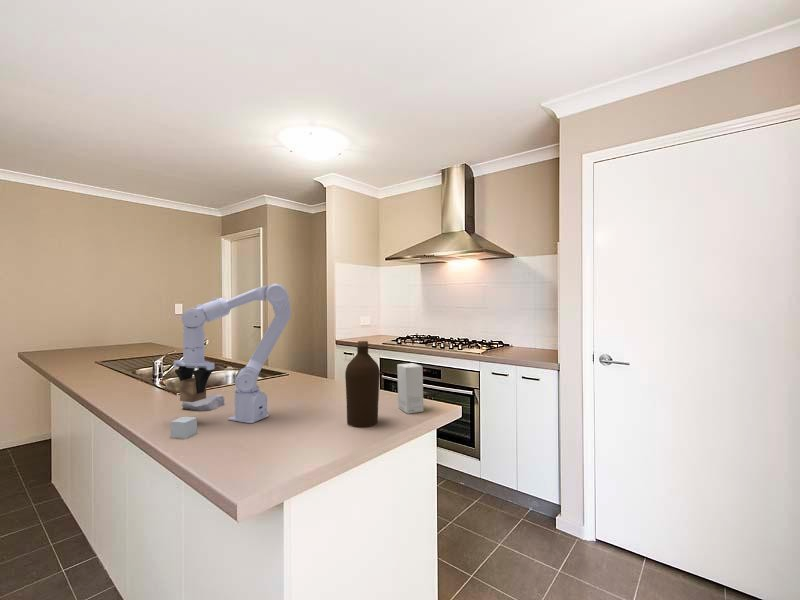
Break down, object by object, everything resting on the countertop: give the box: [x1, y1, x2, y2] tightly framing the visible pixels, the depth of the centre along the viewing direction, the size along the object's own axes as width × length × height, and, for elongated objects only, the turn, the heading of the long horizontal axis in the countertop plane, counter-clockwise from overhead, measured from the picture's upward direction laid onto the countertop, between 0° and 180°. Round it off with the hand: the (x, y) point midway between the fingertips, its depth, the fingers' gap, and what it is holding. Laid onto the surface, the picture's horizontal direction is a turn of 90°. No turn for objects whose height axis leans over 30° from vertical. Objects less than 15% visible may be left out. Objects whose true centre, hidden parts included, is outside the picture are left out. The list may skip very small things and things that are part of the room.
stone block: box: [181, 393, 225, 412], centre depth 135 cm, size 12×5×10 cm
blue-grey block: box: [170, 416, 198, 440], centre depth 107 cm, size 4×4×4 cm
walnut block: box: [179, 377, 207, 402], centre depth 118 cm, size 5×5×6 cm
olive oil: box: [344, 340, 381, 428], centre depth 119 cm, size 11×11×25 cm
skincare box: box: [396, 362, 424, 415], centre depth 132 cm, size 8×7×16 cm
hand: (193, 391), depth 118 cm, fingers closed on walnut block, 5 cm apart
